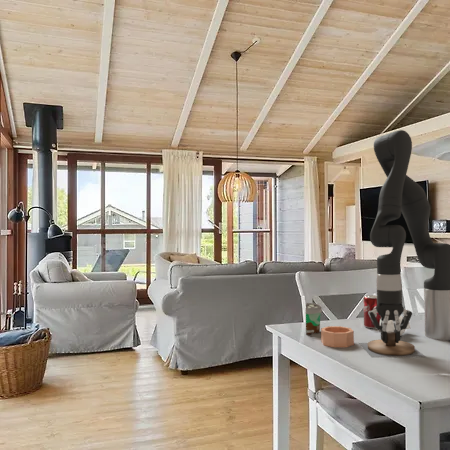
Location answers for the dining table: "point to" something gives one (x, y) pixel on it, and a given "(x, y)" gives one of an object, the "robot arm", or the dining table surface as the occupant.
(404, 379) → the dining table surface
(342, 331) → the terracotta bowl
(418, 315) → the dining table surface
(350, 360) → the dining table surface
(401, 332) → the white garlic bulb
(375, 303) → the soda can
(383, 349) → the walnut lid
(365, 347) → the rubber mat
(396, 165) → the robot arm
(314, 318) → the food container
